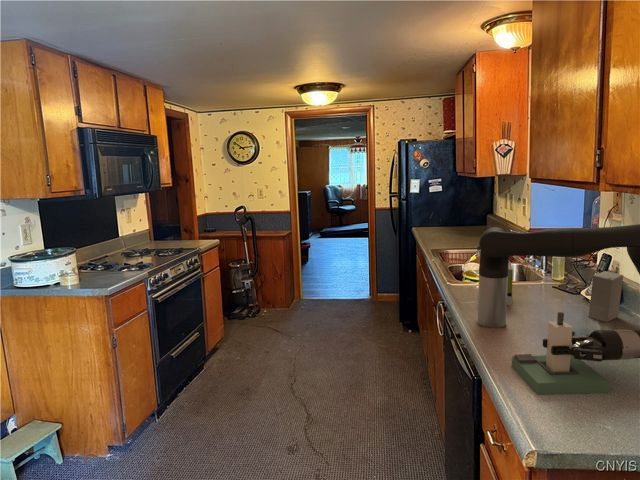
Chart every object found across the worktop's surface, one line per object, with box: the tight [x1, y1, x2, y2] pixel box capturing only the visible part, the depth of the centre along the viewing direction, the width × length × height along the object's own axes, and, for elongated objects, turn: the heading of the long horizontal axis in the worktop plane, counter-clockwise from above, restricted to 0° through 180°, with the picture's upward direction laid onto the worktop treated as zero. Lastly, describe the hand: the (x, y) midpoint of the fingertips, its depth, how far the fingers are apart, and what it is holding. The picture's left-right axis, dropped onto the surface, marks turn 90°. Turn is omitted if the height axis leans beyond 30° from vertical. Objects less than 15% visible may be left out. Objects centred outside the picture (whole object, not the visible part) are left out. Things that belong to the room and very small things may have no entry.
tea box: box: [507, 260, 514, 306], centre depth 180 cm, size 15×10×15 cm
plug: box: [546, 311, 573, 372], centre depth 114 cm, size 4×4×17 cm
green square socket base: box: [511, 353, 610, 396], centre depth 116 cm, size 15×17×4 cm
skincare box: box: [588, 270, 624, 323], centre depth 155 cm, size 8×7×16 cm
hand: (547, 346), depth 114 cm, fingers closed on plug, 3 cm apart
